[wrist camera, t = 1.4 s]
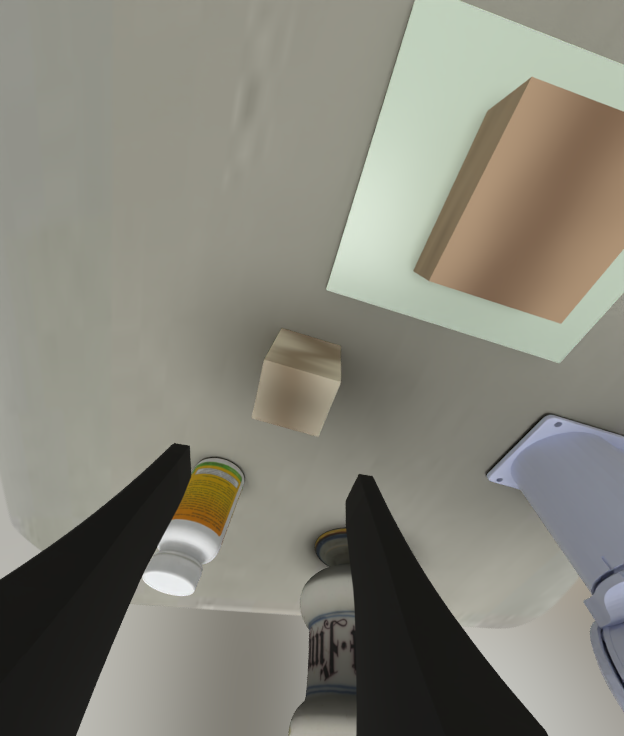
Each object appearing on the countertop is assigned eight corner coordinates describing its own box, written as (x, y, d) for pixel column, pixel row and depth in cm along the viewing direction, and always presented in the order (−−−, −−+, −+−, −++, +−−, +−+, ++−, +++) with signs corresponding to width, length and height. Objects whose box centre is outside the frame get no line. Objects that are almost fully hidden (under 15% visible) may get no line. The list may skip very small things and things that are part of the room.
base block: (627, 162, 12) (710, 144, 9) (522, 306, 15) (561, 323, 12) (487, 111, 11) (531, 76, 9) (413, 271, 15) (429, 280, 12)
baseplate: (743, 132, 11) (776, 124, 11) (548, 356, 17) (559, 363, 17) (413, 4, 11) (419, -15, 10) (326, 286, 17) (326, 289, 16)
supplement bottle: (192, 453, 26) (121, 562, 18) (243, 459, 26) (196, 572, 17) (201, 486, 29) (143, 595, 20) (247, 492, 28) (208, 604, 20)
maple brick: (340, 345, 19) (341, 382, 14) (322, 392, 21) (318, 436, 17) (281, 327, 18) (264, 359, 14) (270, 377, 21) (251, 418, 16)
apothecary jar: (422, 542, 30) (513, 887, 14) (372, 580, 36) (396, 854, 20) (329, 510, 29) (317, 852, 13) (292, 555, 34) (254, 828, 19)
